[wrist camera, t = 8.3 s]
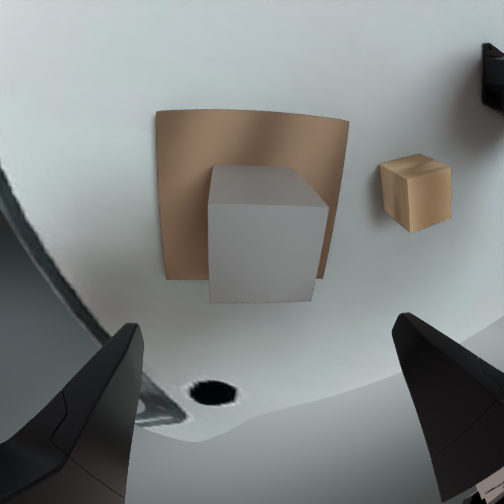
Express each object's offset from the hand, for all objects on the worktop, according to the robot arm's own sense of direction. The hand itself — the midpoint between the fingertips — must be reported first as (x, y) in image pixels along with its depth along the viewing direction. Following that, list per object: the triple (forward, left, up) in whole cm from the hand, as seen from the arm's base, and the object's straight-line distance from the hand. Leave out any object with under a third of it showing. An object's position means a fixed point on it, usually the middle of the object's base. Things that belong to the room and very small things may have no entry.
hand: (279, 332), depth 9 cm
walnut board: (0, 0, -13) cm, 13 cm away
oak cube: (-12, -2, -13) cm, 18 cm away
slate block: (0, 0, -11) cm, 11 cm away
